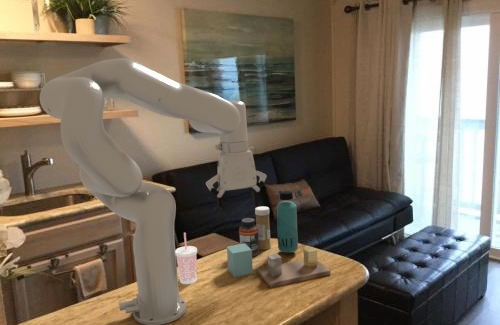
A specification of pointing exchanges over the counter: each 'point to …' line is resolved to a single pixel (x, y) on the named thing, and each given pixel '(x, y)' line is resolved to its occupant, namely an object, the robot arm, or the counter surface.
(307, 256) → the brass post
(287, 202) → the beverage bottle
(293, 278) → the post board
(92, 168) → the robot arm
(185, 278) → the beverage cup
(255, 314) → the counter surface
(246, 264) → the pale aqua cube
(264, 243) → the sprinkles bottle
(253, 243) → the supplement bottle
